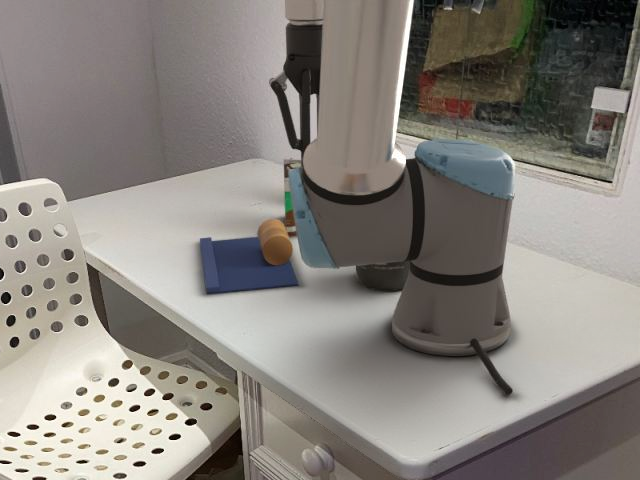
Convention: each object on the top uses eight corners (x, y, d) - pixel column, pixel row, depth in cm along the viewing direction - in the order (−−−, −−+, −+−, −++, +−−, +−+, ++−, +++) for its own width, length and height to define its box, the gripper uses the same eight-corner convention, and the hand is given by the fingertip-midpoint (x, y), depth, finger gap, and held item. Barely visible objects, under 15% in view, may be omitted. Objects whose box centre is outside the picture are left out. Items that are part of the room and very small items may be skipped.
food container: (321, 237, 139) (321, 177, 133) (285, 239, 140) (283, 179, 134) (318, 214, 149) (318, 156, 143) (285, 215, 150) (283, 158, 143)
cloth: (298, 285, 124) (298, 279, 123) (207, 294, 123) (206, 288, 123) (280, 236, 141) (280, 230, 141) (200, 243, 141) (199, 238, 140)
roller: (287, 269, 130) (297, 240, 128) (258, 260, 129) (268, 231, 126) (280, 251, 137) (290, 223, 134) (253, 243, 135) (262, 215, 133)
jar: (424, 268, 126) (428, 218, 121) (417, 294, 119) (420, 242, 114) (360, 265, 129) (361, 216, 124) (349, 290, 121) (349, 239, 116)
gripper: (353, 13, 116) (350, 183, 131) (263, 20, 116) (270, 190, 130) (364, 20, 110) (360, 198, 125) (268, 28, 110) (276, 205, 125)
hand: (314, 194), depth 128 cm, fingers closed
